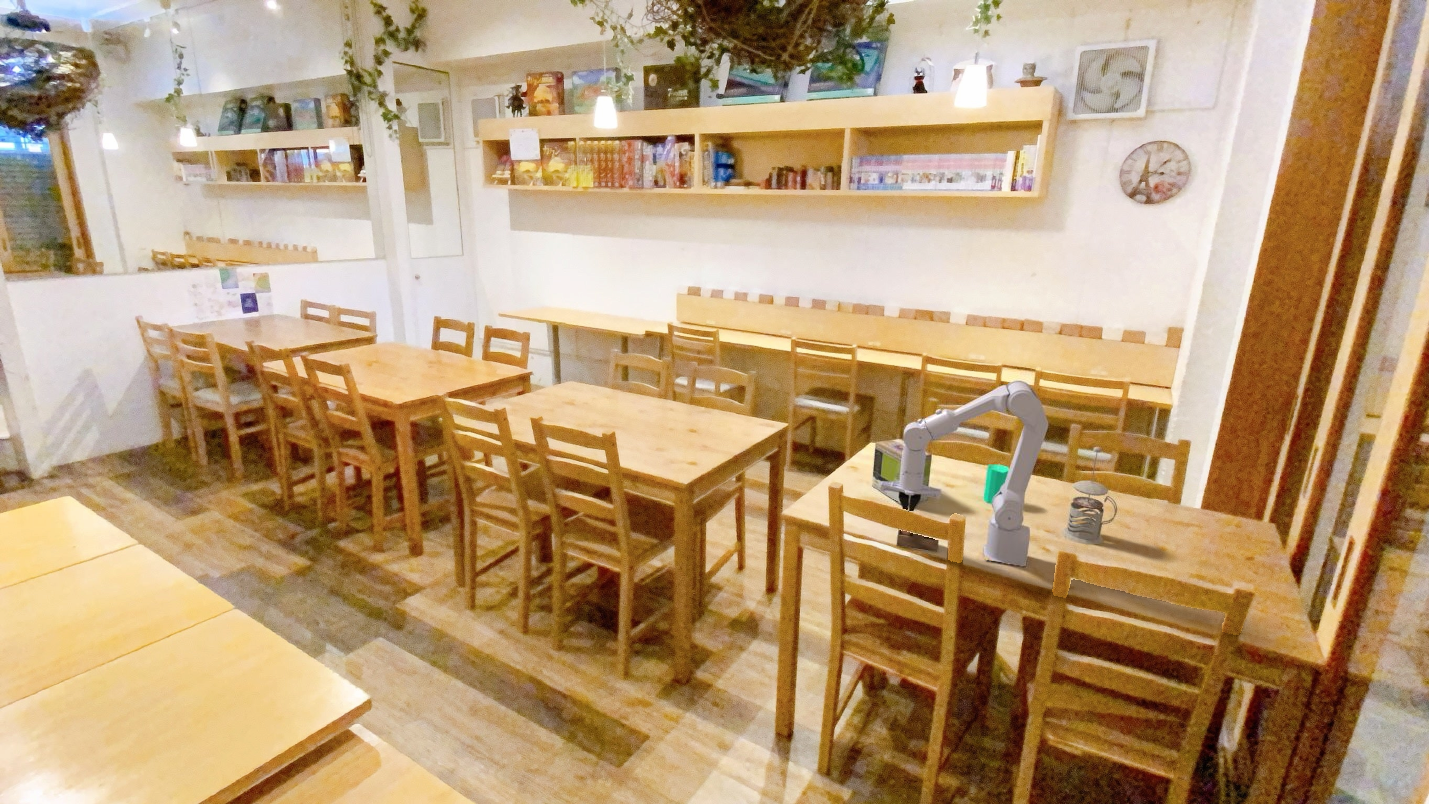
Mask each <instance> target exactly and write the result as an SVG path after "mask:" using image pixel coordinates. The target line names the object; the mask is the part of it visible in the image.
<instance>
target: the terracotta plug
mask: <svg viewBox="0 0 1429 804" xmlns="http://www.w3.org/2000/svg"><path fill="white" fill-rule="evenodd" d="M901 534H902V535H906V536H910V535H911V533H910V532H907V531H903V530H902V531H901Z"/></svg>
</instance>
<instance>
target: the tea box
mask: <svg viewBox="0 0 1429 804" xmlns="http://www.w3.org/2000/svg"><path fill="white" fill-rule="evenodd" d="M874 445H875V446H874V456H873V457H874V459H873V470H872V480H871V481H872V483H871V486H872V487H873V488H875V489H876V490H878V491H880V489H881V482H882V481H886V482H899V481H900V470H901V459H902V451H903V445H904V438H903V439H902V438H897V439H892V440H891V439H890V440H882V441H875V444H874ZM925 453H926V459H925V469H924V478H923V485H926V486H930V476H931V475H930V474H931V467H932V456H933V453H931V452H929V451H927V450H925ZM880 492H881V493H882V494H884V495H885V496H887V497H889V498H890V499H892V500H893V499H894V500H893V501H895V500H896V501H898V502H899V503H900V500H899V492H894V491H886V490H885V491H880ZM910 496H911V495H909V503H908V504H910ZM927 500H928V496H923V495H921V499H920V502H924V501H927ZM896 501H895V502H896ZM898 502H897V503H898ZM899 503H898V504H899ZM899 505H901V503H900V504H899Z"/></svg>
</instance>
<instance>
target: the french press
mask: <svg viewBox="0 0 1429 804" xmlns="http://www.w3.org/2000/svg"><path fill="white" fill-rule="evenodd" d="M1102 450H1103V449H1102V448H1101V447H1099V446H1095V447H1093V451H1092V452H1095V453H1096V454H1095V459H1094V466H1093V468H1092V469H1093V470H1092V475H1091V480H1080V481H1075V482H1074V483H1073V489H1075V490H1076V491H1077V492H1079V493H1082V494H1085V495H1088V496H1076V497H1073V498H1072V502H1071V503H1070V508H1069V514H1068V519H1067V525H1066V527H1064V528H1063V529H1062V530H1061V535H1062V536H1064V537H1065V538H1067V539H1068V540H1070V541H1073V542H1075V543H1079V544H1083V545H1099V544H1101V543H1103V541H1104V539H1103V537H1102V535H1101V533H1102V527H1103V525H1108V524H1110V523H1111V522H1112V521H1114V519H1115V517H1116V515H1117V513H1118V505H1117V502H1116V501H1115V500H1114V499H1113V498H1112V497H1111V496H1110V495H1107V494H1108V493H1109V489H1108V488H1107V487H1106V486H1105V485H1103V484H1101V483H1099V482H1096V481H1093V479H1094V475H1095V469H1096V462H1097V457H1098V453H1102ZM1105 495H1106V496H1105ZM1091 496H1095V497H1096V496H1098V497H1101V496H1105V498H1104V503H1106V502H1107V501H1109V503H1111V504H1112V505H1113V508H1114V513H1113V516H1112V518H1110V519H1109V520H1104V521H1103V517H1104V508H1103V507H1104V503H1103V502H1102V501H1101V500H1098V499H1095V498H1093V497H1091ZM1079 509H1083V510H1079ZM1096 510H1097V511H1096ZM1089 512H1090V513H1089ZM1091 512H1092V513H1091ZM1078 518H1079V519H1078ZM1077 522H1078V523H1077Z"/></svg>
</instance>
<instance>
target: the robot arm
mask: <svg viewBox="0 0 1429 804" xmlns="http://www.w3.org/2000/svg"><path fill="white" fill-rule="evenodd" d="M1007 409H1008V411H1009V412H1010V413H1012V415H1014V416H1015V417H1017V418H1018V419H1020V421H1021V422H1022V424H1023V427H1022V430H1021V434H1020V437H1019V439H1018V442H1017V445H1016V448H1015V451H1014V454H1013V457H1012V459H1011V462H1010V466H1009V471H1008V474H1007V477H1006V480H1005V483H1004V484H1003V485H1002V486H1001V488H1000V491H999V492H998V493H997V494H996V495H995V496H994V497H993V499H992V504H991V506H992V509H993V514H992V516H990V517H989V522H988V523H989V524H988V530H987V531H988V532H987V538H986V544H982V545H983V546H982V547H983V548H982V549H984V551H983V556H984V555H985V556H988V557H990V558H992V559H988V560H993V561H997V562H1002V563H1001V564H1004V563H1009V564H1008V565H1010V564H1014V565H1013V566H1016V565H1021V566H1020V567H1023V566H1026V567H1027V558H1028V554H1029V545H1030V539H1031V538H1030V537H1031V531H1030V526H1028V525H1024V524H1023V522H1024V514H1023V511H1024V510H1023V509H1024V506H1025V497H1026V491H1027V488H1028V485H1029V482H1030V479H1031V477H1032V474H1033V471H1034V469H1035V468H1034V467H1035V465H1036V463H1037V460H1038V457H1039V454H1040V453H1041V452H1040V451H1041V448H1042V445H1043V443H1044V440H1045V437H1046V434H1047V431H1048V428H1049V421H1048V418H1047V415H1046V413H1045V410H1044V406H1043V404H1042V402H1041V400H1040V398H1039V397H1038V394H1037V393H1036V392H1035V390H1034V389H1033V388H1032V387H1031V386H1030V384H1029V383H1028V382H1026V381H1023V380H1013V381H1010V382H1009V383H1008V384H1007V385H1006V384H1004V385H1000V386H997V387H996V388H995V389H992V391H990V392H987V393H986V394H983V395H981V396H980V397H978V398H975V399H974V400H971V401H970V402H968V403H966V404H964V405H962V406H960V407H958V408H956V409H955V410H952V409H948V408H945V409H943V410H942V409H941V408H939V409H937V410H935V413H934V414H932V415H929V416H927V417H925V418H923V419H922V418H919V419H917V422H916V421H912V422H909V423H908V424H907V425H906V426H905V428H904V430H903V440H904V445H903V451H902V459H901V470H900V481H899V482H886V481H882V482H881V489H880V492H881V491H885V490H886V491H894V492H899V500H900V503H901V504H900V505H901V507H902V510H903V509H906V510H908V512H909V511H913V512H914V511H915V510H916V508H917V506H918V505H919V504H920V502H921V501H920V499H921V495H923V496H927V497H932V498H935V499H938V500H940V499H941V493H942V489H941V488H937V487H932V486H930V485H929V486H926V485H923V478H924V469H925V459H926V453H925V451H926V447H927V446H928V445H929V443H930V442H934V441H936V440H939V439H940V438H942V437H944V436H947V435H949V434H952V433H954V432H955V431H957V430H958V429H959V426H960V424H961V423H963V422H967V421H968V420H971V419H974V418H976V417H978V416H981V415H983V414H987V413H989V412H991V411H994V412H998V413H1002V414H1007ZM909 495H911V496H910V503H909ZM997 562H996V563H997Z"/></svg>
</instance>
